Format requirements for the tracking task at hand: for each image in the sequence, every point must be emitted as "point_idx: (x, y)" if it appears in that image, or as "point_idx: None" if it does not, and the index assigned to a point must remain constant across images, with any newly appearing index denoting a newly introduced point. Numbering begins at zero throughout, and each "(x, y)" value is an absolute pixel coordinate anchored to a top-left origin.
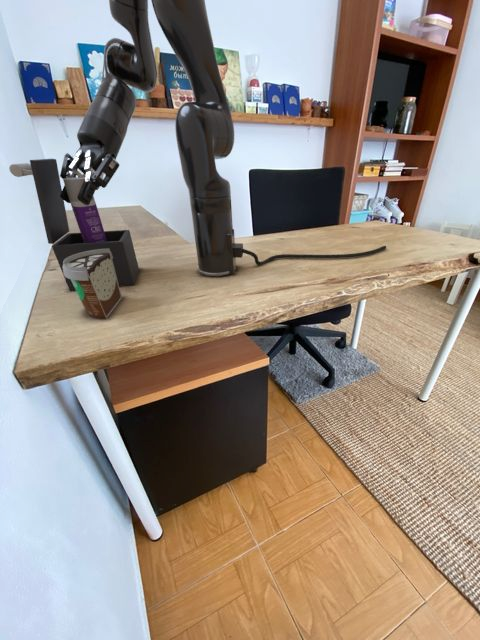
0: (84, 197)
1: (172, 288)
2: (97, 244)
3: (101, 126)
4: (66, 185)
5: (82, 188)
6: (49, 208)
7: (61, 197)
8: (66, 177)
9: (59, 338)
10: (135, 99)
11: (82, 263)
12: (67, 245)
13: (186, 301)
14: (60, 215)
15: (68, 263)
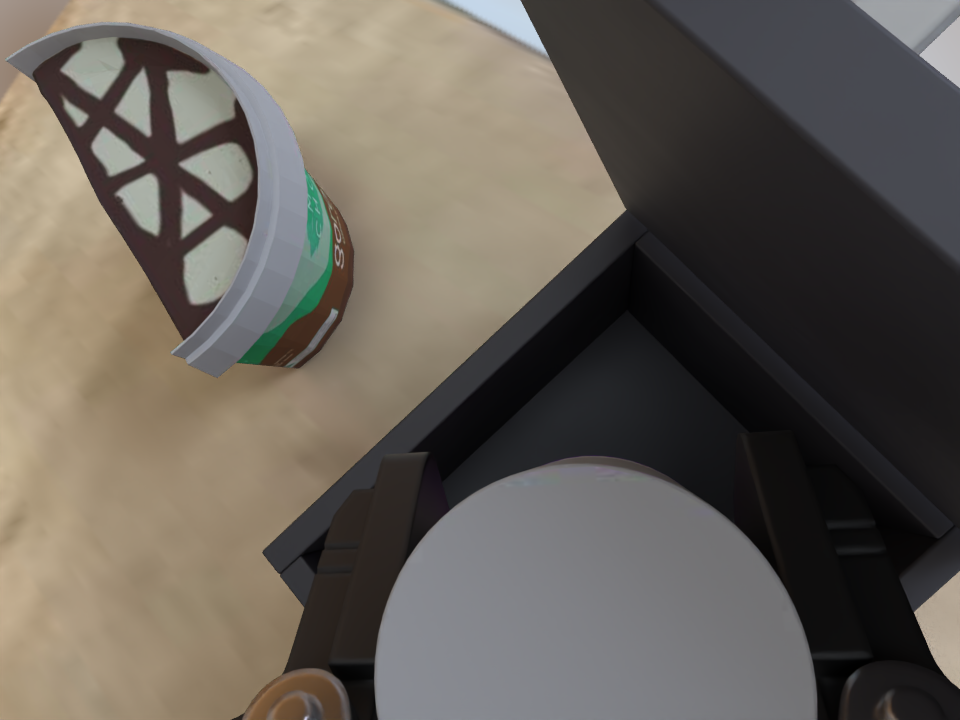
0: (352, 500)
1: (157, 587)
2: (399, 426)
3: None
4: (594, 461)
5: (373, 562)
6: (671, 214)
7: (768, 431)
8: (890, 700)
9: (225, 15)
10: None
11: (165, 139)
12: (554, 279)
13: (6, 490)
14: (895, 443)
15: (230, 94)
